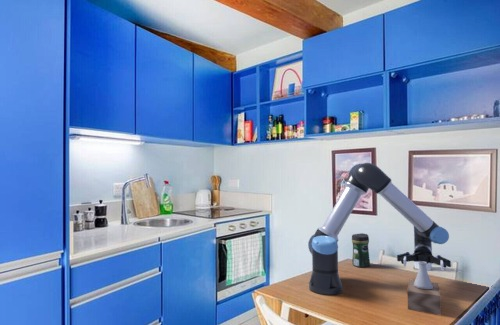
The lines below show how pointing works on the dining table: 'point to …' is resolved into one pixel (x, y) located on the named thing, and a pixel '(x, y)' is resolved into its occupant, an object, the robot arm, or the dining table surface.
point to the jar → (428, 266)
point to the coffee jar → (360, 250)
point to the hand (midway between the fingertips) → (422, 265)
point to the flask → (423, 277)
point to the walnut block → (424, 298)
